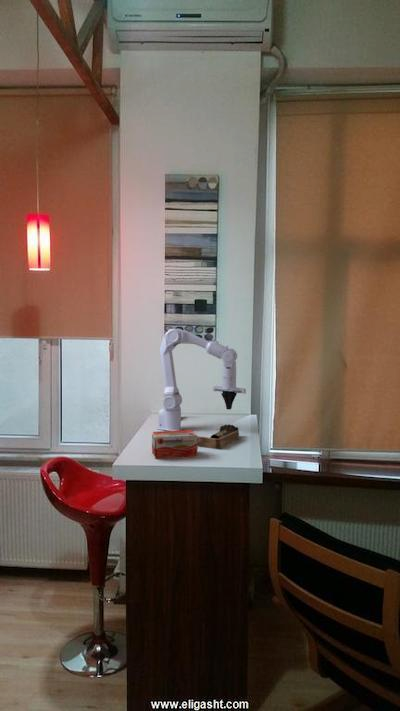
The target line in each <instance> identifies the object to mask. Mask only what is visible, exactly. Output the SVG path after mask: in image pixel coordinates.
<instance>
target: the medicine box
mask: <svg viewBox="0 0 400 711" xmlns="http://www.w3.org/2000/svg"><path fill="white" fill-rule="evenodd" d="M197 436H198V434H197V433H195V431H194V430H193V429H181V430H178V431H168V430H161V431H152V433H151V450H152V451H151V452H152V455H153V457H154V459H155V460H156V459H157V460H159V459H161V460H163V459H178V458H196V457H195V456H197V455H198V449H199V448H198V447H199V446H198V438H197ZM197 457H198V456H197Z"/></svg>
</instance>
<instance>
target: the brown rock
mask: <svg viewBox="0 0 400 711" xmlns="http://www.w3.org/2000/svg"><path fill="white" fill-rule="evenodd" d="M239 429H240V428H239V427H238V426H235V425H233V424H224V425H223V424H222V425H220V427H219V430H218V432H217V433H213V434H212V435H211V436H210V437H209V438H215V439H218V438H221V437H223V436H225V435H227V434H230V433H232V432H234V431H239Z"/></svg>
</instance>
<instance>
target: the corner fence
mask: <svg viewBox="0 0 400 711" xmlns="http://www.w3.org/2000/svg"><path fill="white" fill-rule="evenodd" d="M239 435H240V431H239V430H238V431H234V432H232V433H230V434H227V435H225V436H223V437H221V438H218V439H215V438H210V437H205V436H200V435H199V436H198V435H197V438H198V447H202V448H206V449H207V448H209V449H214V450H220V449H223V448H225V447H226V446H228V445H229V446H230V445H231V444H232V443H235V442H237V441H239V439H240V436H239Z"/></svg>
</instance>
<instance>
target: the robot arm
mask: <svg viewBox="0 0 400 711" xmlns="http://www.w3.org/2000/svg"><path fill="white" fill-rule="evenodd" d="M183 342H190V343H192V344H194V345H196V346H198V347H201V348H204V349H205V351H206V353H207V354H209V355H211V356H213V357H216V358H217V359H220V360H222V362H223V363H222V386H217V385H216V386H213V387H212V391H213V392H220V393H221V392H222V393H221V396H222V398H223V401H224V405H225V408H226V410H232V408H233V404H234V401H235V398H236V397H237V394H243V395H245V394H246V393H247V392H246V391H247V389H246V388H242V387H237V358H238V352H237V351H236V350H235V349H233V348H229V346H228V345H223V344H221V343H219V341H218V340H211V341H207V340H205V339H204V338H202V337H200V336H198V335H196V334H194V333H192V332H190V331H188V330H183V329H181V328H171V329H168V331H166V333H165V334H163V339H162V342H161V344H160V346H159V353H160V354H159V355H160V361H161V368H162V374H163V382H164V391H163V399H162V405H163V408H160V410H159V411H158V415H157V418H158V424H157V426H158V428H157V430H161V431H179V430H185V427H184V426H182V423H181V422H182V420H181V419H182V409H181V404H182V403H183V398H182V395H181V394H180V389H179V388H178V386H177V380H176V371H175V364H174V357H173V351H174V349H176V347H177V346H178V345H180V344H181V343H183Z"/></svg>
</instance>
